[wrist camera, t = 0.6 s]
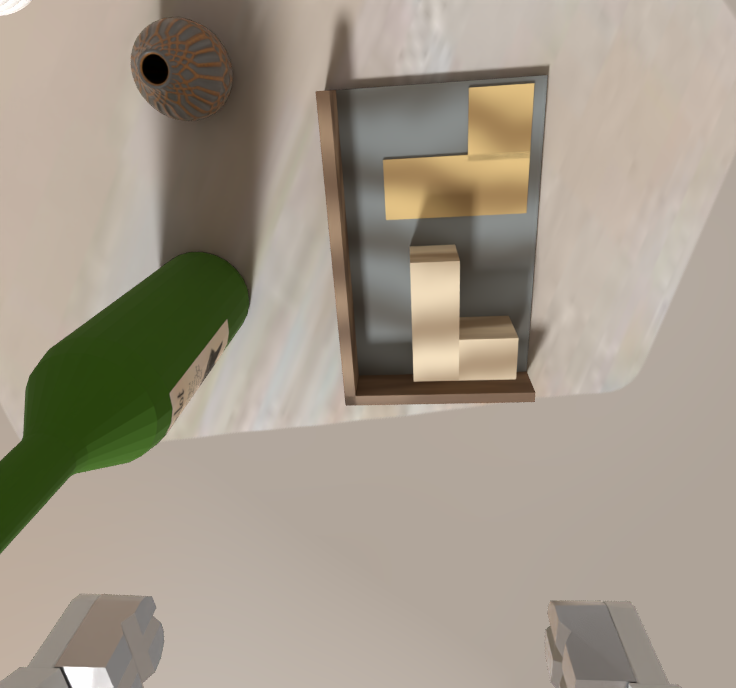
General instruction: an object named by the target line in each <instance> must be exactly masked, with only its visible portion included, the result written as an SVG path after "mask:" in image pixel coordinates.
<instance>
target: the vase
mask: <svg viewBox="0 0 736 688" xmlns="http://www.w3.org/2000/svg"><path fill="white" fill-rule="evenodd" d="M131 70H132V75H133V78H134V81H135V84H136V86H137V88H138V90H139V91H140V93H141V95H142V96H143V97H144V99H145V100H146V101H147V102H148V103H149V104H150V105H151V106H152V107H153V108H155V109H156V110H157V111H159V112H160V113H162V114H164V115H166V116H168V117H170V118H173V119H177V120H181V121H196V120H201V119H204V118H207V117H209V116H211V115H213V114H214V113H216V112H217V111H218V110H219V109H220V108H221V107H222V106H223V105H224V103H225V102H226V100H227V99H228V96H229V94H230V91H231V87H232V80H233V74H232V66H231V62H230V59H229V56H228V54H227V52H226V50H225V48H224V46H223V45H222V43H221V42H220V41H219V39H218V38H217V37H216V36H215V35H214V34H213V33H212V32H211V31H210V30H208V29H207V28H206V27H204V26H202V25H201V24H199V23H197V22H194V21H192V20H189V19H185V18H178V17H170V18H164V19H160V20H158V21H155V22H153V23H152V24H150V25H148V26H147V27H146V28H145V29H144V30H143V31H142V32H141V33H140V34H139V36H138V37H137V39H136V41H135V43H134V46H133V49H132V53H131Z"/></svg>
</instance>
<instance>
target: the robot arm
mask: <svg viewBox="0 0 736 688" xmlns="http://www.w3.org/2000/svg"><path fill="white" fill-rule="evenodd" d="M155 609H156V605H155V603H154V600H153V598H152V596H133V595H110V594H109V595H108V594H79V595H78V596H77V597H75V598H74V599H73V600H72V601H71V602H70V604H69V605H68V607H67V608H66V610H65V611H64V613H63V614H62V616H61V617H60V619H59V620H58V622H57V623H56V625H55V626H54V628H53V629H52V631H51V632H50V634H49V635H48V637H47V638H46V640H45V641H44V643H43V644H42V646H41V647H40V649H39V650H38V652H37V653H36V655H35V656H34V657H33V659H32V660H31V662H30V664H29V665H28V666H27V667H20V668H18V669H17V670H15V671H14V672H13V673H11V674H10V675H9V676H7V677H6V678H5V679H3V680H2V681H0V688H144V686H143V682H144V681H145V680H147V679H148V678H149V677H150V676H151V675H152V674H153V673H155V671H156V669H157V666H158V664H159V661H160V659H161V654H162V650H163V645H164V631H163V627H162V624H161V622H160V621H158V620H157V619H156V618H155V617H154V616H153V613H154V611H155ZM547 614H548V618H549V622H550V626H549V627H548V628H547V629H546V631H545V655H546V662H547V667H548V672H549V677H550V681H551V683H552V684H553V685H554V686H555V688H682V687H680V686H679V685H678V684H669V682H668V679H667V677H666V675H665V673H664V670H663V668H662V666H661V664H660V662H659V659H658V657H657V655H656V653H655V650H654V648H653V646H652V644H651V642H650V639H649V637H648V635H647V633H646V631H645V629H644V626H643V624H642V622H641V619H640V618H639V615H638V613H637V611H636V608H635V606H634V605H633V604H632V603H631V602H628V601H603V602H602V601H550V603H549V605H548V612H547Z"/></svg>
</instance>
